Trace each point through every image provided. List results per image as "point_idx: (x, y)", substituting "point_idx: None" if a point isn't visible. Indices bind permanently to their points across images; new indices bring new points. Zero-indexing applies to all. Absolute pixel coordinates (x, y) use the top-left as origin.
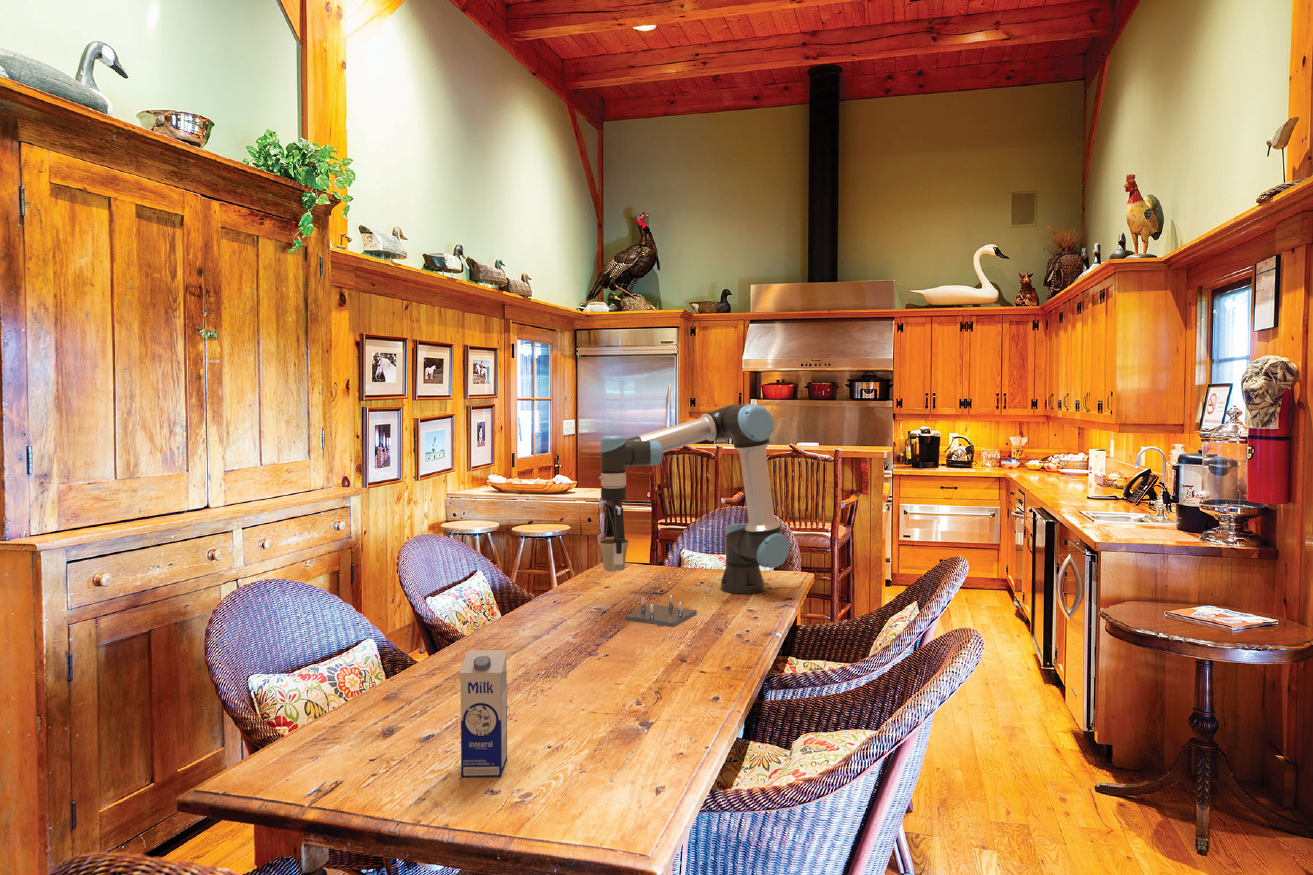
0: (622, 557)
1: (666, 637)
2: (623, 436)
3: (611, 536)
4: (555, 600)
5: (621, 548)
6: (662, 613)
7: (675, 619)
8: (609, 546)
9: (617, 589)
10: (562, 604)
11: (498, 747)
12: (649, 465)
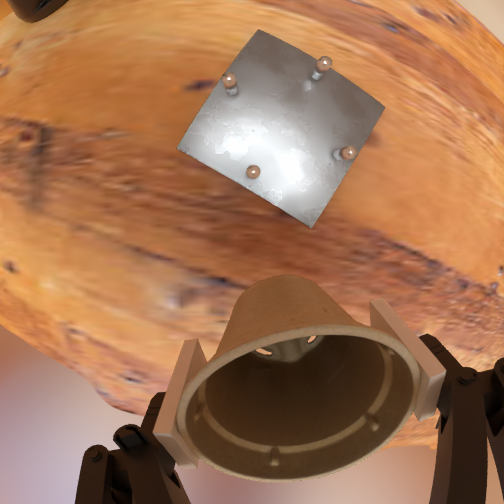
0: (398, 317)
1: (450, 146)
2: None
3: (163, 447)
4: (122, 377)
5: (447, 351)
6: (292, 118)
7: (357, 95)
8: (387, 421)
9: (19, 244)
10: (152, 368)
11: None
12: None
